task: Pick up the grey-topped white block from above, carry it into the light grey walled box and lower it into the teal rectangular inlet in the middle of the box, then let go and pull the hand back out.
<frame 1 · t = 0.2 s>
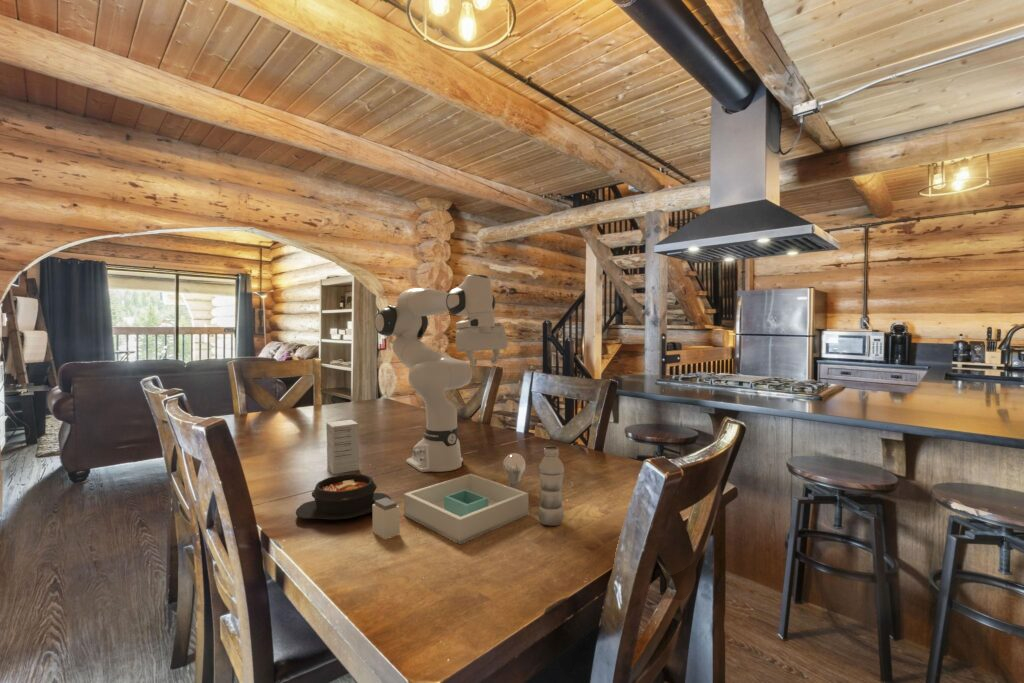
hand: (484, 364, 151), 39 cm above the table, tool pointing down, fingers open, 8 cm apart
plastic bottle: (550, 524, 120), on the table
grey-topped white block: (386, 533, 115), on the table
light bulb: (514, 492, 143), on the table
walled box: (466, 515, 126), on the table
casserole: (345, 512, 128), on the table
supplement box: (343, 469, 166), on the table
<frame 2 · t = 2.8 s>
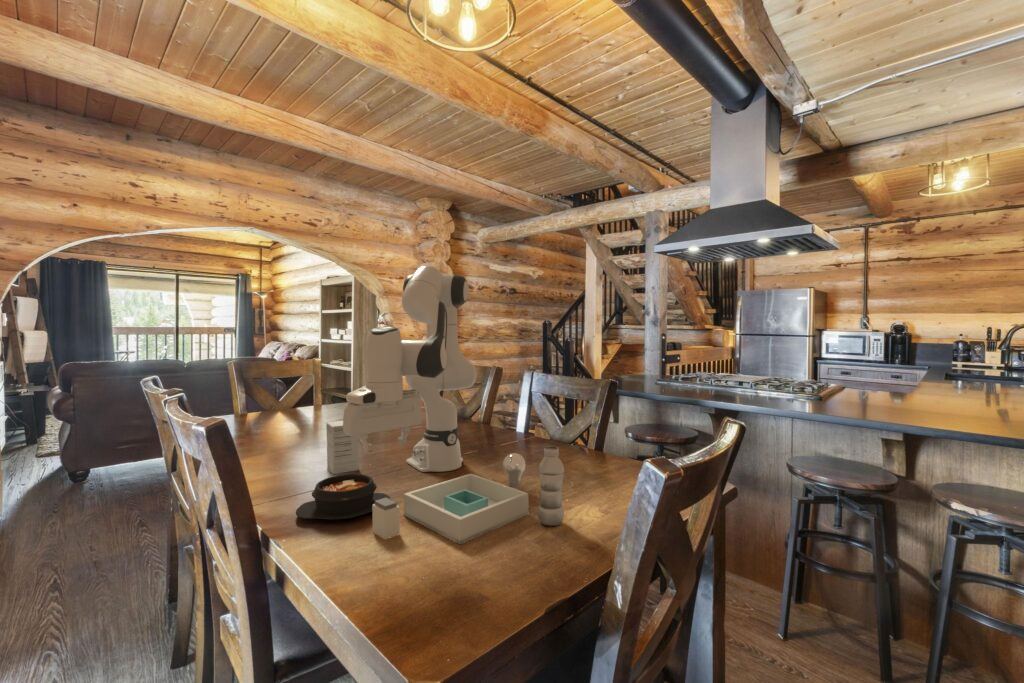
hand: (385, 448, 114), 21 cm above the table, tool pointing down, fingers open, 8 cm apart
nothing on the table moved.
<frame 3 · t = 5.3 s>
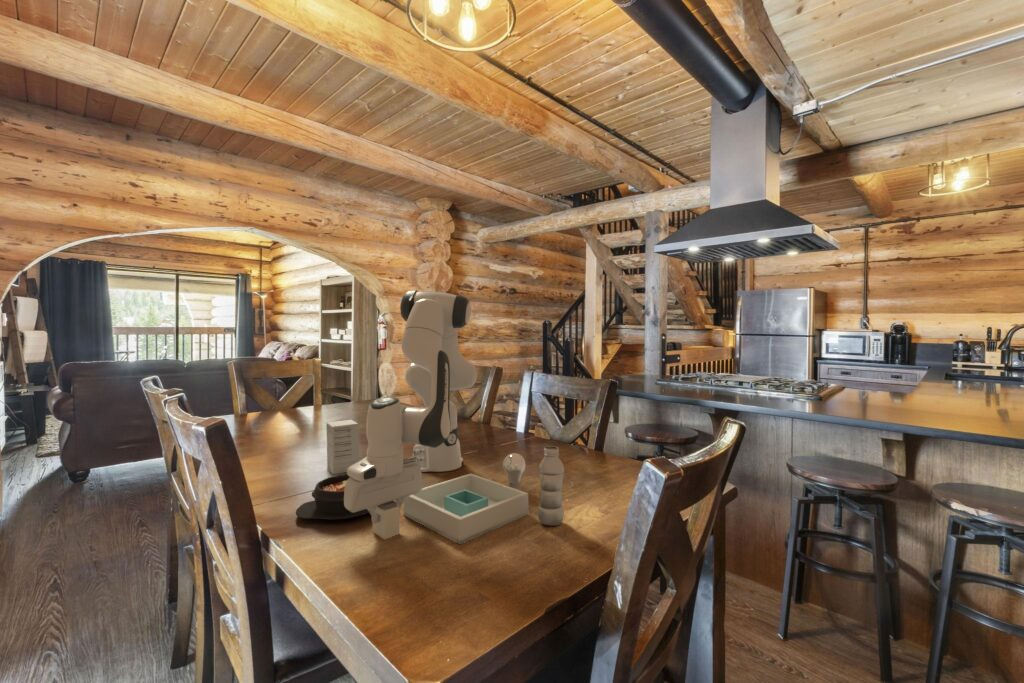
hand: (385, 518, 115), 4 cm above the table, tool pointing down, fingers closed on grey-topped white block, 4 cm apart
grey-topped white block: (386, 533, 115), on the table, touching gripper
everything else where it was.
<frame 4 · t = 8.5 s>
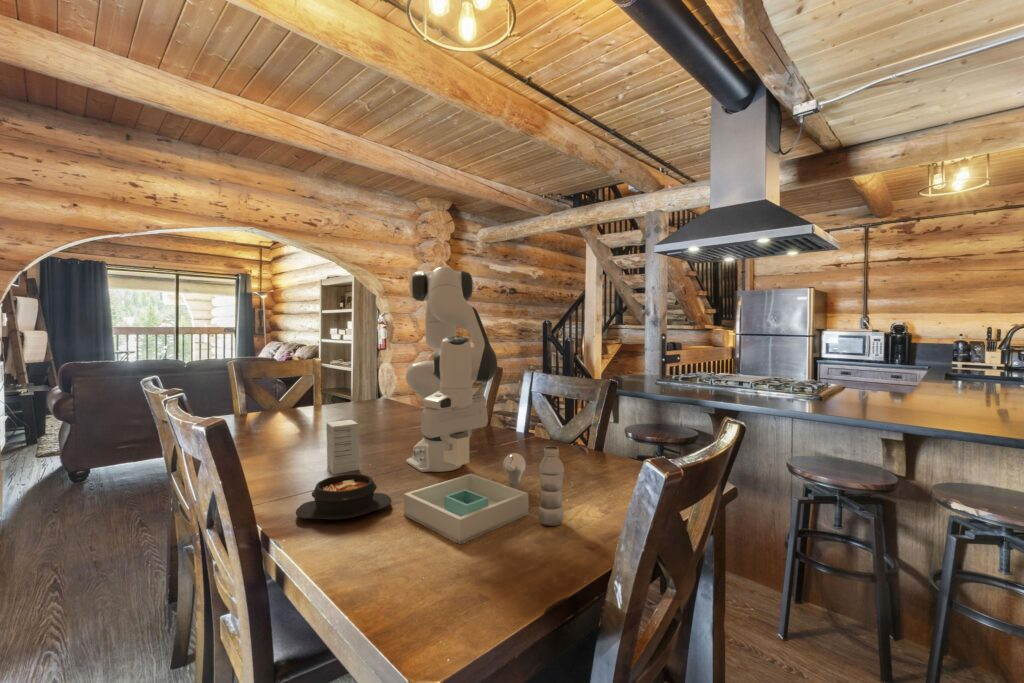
hand: (456, 448, 124), 19 cm above the table, tool pointing down, fingers closed on grey-topped white block, 4 cm apart
grey-topped white block: (456, 461, 124), point 15 cm above the table, touching gripper
everything else where it was.
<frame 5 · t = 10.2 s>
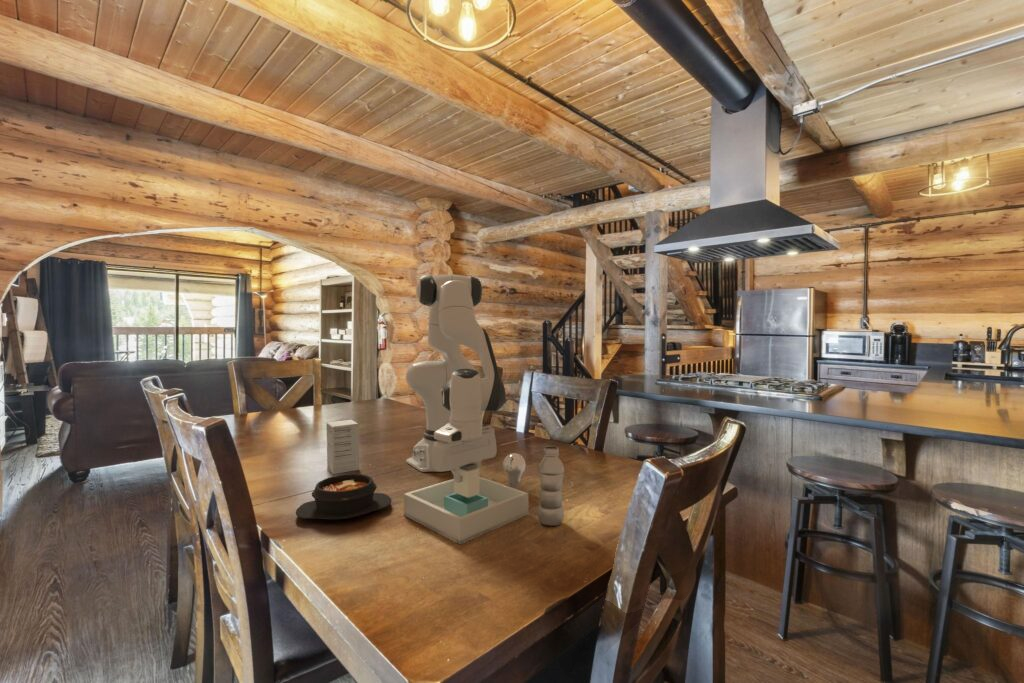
hand: (466, 479, 125), 10 cm above the table, tool pointing down, fingers closed on grey-topped white block, 4 cm apart
grey-topped white block: (466, 493, 125), point 6 cm above the table, touching gripper
everything else where it was.
when the fingers open (6 cm above the table, at t = 11.6 s): grey-topped white block drops 1 cm, resting on walled box.
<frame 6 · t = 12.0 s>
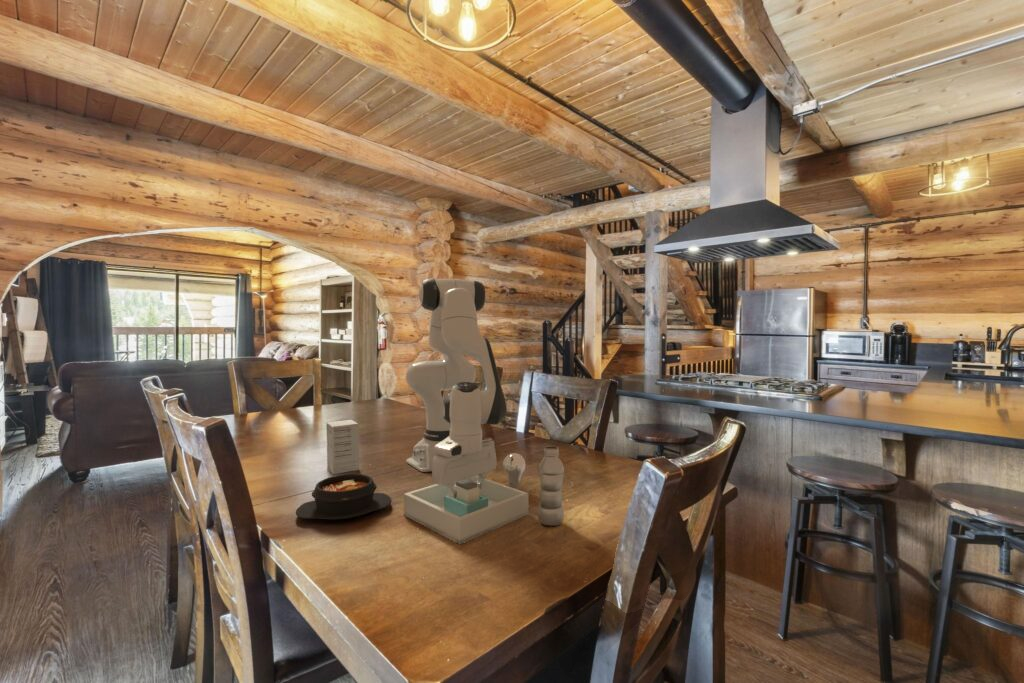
hand: (466, 493, 125), 6 cm above the table, tool pointing down, fingers open, 8 cm apart
grey-topped white block: (466, 511, 126), point 1 cm above the table, touching walled box
everything else where it was.
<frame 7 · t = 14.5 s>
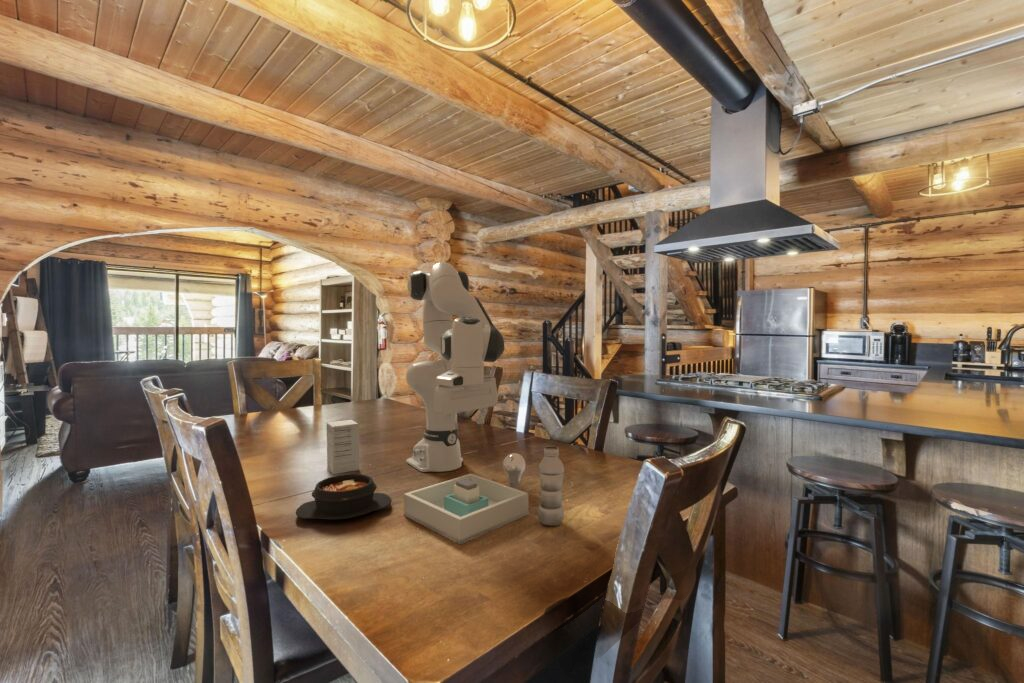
hand: (467, 426, 127), 24 cm above the table, tool pointing down, fingers open, 8 cm apart
nothing on the table moved.
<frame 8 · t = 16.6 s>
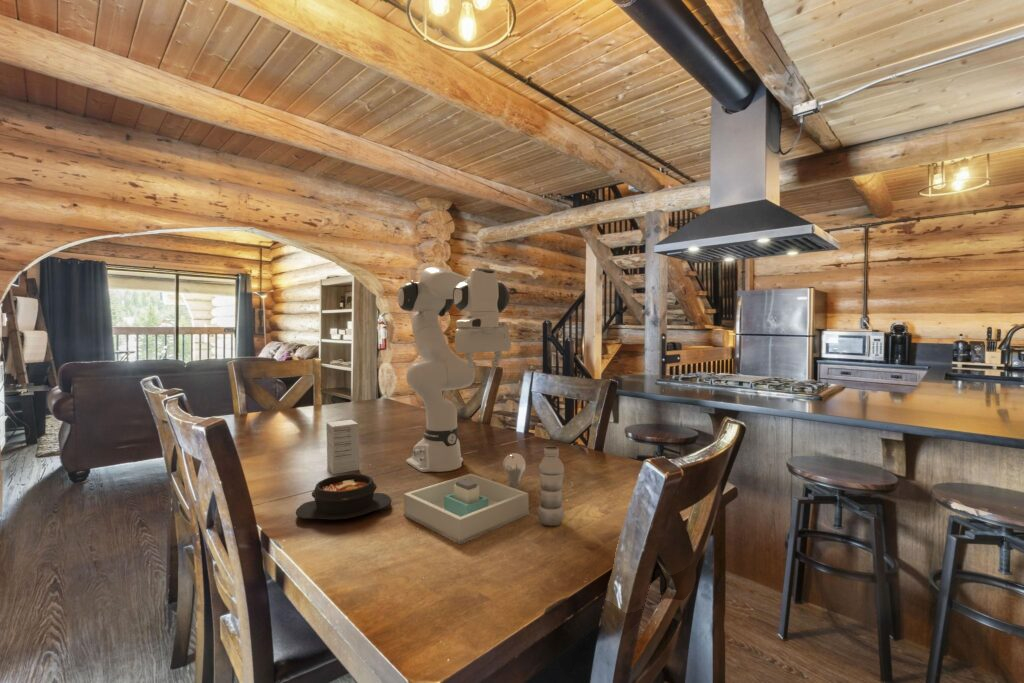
hand: (484, 367, 140), 39 cm above the table, tool pointing down, fingers open, 8 cm apart
nothing on the table moved.
at the end: grey-topped white block 0.1 cm off-centre on the walled box, point 1.0 cm above the walled box's base; grey-topped white block tilted 0°; the gripper is holding nothing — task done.
